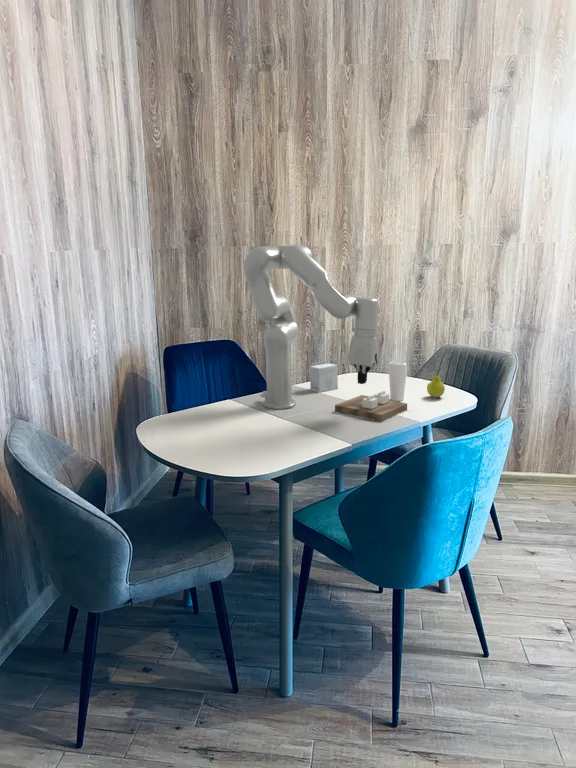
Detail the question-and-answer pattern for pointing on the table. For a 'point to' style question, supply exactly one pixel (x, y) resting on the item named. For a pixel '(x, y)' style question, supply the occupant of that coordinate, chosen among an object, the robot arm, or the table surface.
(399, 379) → the drinking glass
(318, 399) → the table surface
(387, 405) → the switch board
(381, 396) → the tab
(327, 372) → the skincare box
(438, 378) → the fruit
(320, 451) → the table surface
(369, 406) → the front tab
